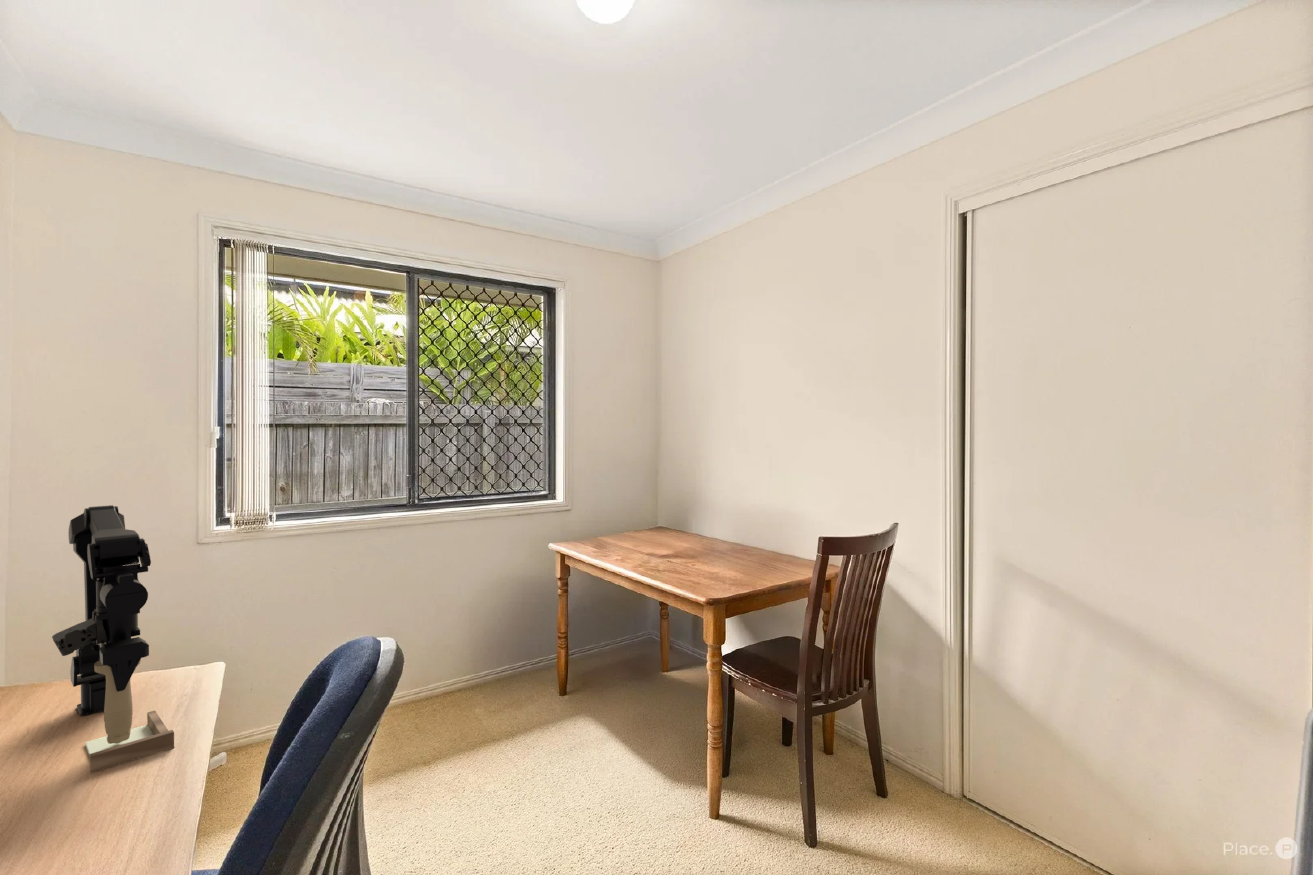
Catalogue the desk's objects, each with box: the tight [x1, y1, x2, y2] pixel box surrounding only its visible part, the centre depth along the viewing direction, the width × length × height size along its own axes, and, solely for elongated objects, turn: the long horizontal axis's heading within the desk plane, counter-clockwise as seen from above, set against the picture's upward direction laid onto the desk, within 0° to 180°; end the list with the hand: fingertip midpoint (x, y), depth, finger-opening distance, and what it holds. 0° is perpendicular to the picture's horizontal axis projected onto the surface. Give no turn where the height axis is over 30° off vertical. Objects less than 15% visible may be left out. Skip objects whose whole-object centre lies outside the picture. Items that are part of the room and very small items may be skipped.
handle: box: [94, 660, 142, 744], centre depth 113 cm, size 5×6×15 cm
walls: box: [89, 710, 175, 775], centre depth 114 cm, size 13×11×3 cm
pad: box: [84, 724, 153, 757], centre depth 114 cm, size 12×9×1 cm
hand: (118, 686), depth 113 cm, fingers closed on handle, 4 cm apart
